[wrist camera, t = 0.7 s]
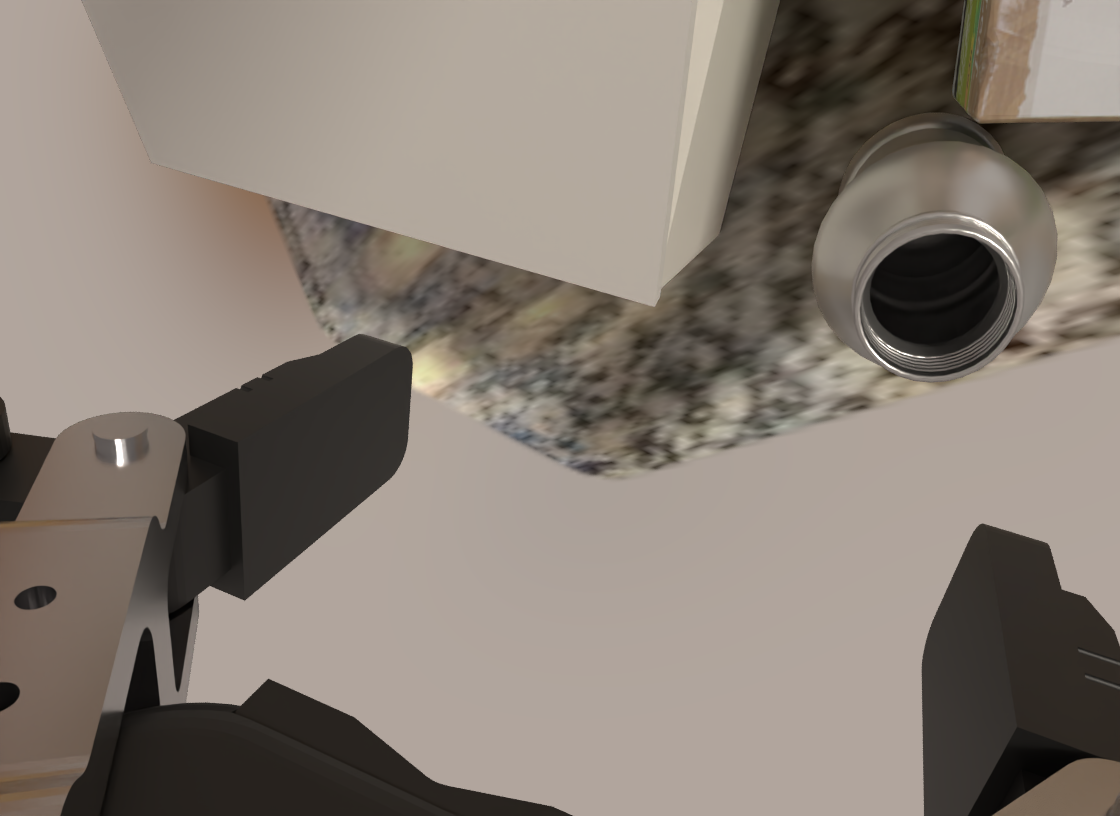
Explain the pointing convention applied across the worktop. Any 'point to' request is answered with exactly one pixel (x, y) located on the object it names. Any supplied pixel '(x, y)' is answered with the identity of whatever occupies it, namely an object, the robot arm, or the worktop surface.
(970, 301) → the plastic bottle
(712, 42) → the carton
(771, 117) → the worktop surface
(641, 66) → the carton lid
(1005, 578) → the robot arm
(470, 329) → the worktop surface
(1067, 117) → the tea box
